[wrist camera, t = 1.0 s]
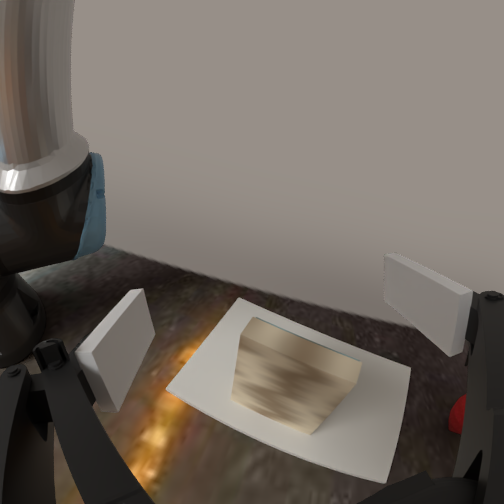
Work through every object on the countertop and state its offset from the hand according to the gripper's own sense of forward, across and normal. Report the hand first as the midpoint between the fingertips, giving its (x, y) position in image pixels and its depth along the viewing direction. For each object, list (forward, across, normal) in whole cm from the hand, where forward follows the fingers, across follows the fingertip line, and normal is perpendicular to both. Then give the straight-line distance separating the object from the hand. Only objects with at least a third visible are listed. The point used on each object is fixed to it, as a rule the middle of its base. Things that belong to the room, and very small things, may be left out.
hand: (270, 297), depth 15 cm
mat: (+15, +4, -19) cm, 24 cm away
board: (+11, 0, -19) cm, 22 cm away
